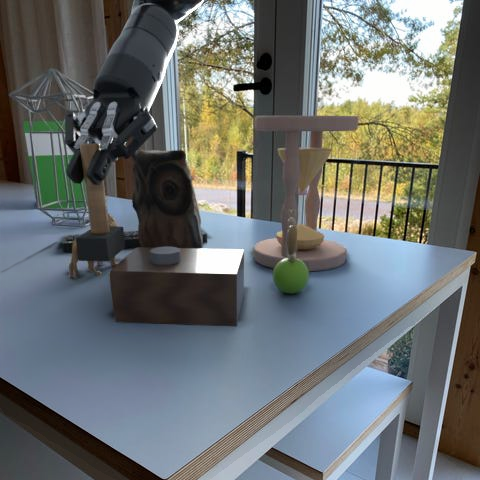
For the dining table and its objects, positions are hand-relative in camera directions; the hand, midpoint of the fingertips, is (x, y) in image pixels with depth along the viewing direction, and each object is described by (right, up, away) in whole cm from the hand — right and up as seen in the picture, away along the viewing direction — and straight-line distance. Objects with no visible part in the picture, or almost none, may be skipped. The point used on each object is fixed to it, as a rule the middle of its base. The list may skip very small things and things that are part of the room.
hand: (83, 179), depth 58 cm
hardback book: (-34, +18, +88) cm, 96 cm away
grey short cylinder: (+9, -9, +5) cm, 14 cm away
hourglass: (+31, -6, +32) cm, 45 cm away
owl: (+8, -7, +29) cm, 31 cm away
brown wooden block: (+11, -15, +9) cm, 21 cm away
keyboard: (-3, 0, +45) cm, 45 cm away
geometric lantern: (-23, +7, +62) cm, 67 cm away
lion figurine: (-6, -8, +26) cm, 28 cm away
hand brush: (+1, -8, +6) cm, 10 cm away
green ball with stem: (+27, -13, +15) cm, 34 cm away
